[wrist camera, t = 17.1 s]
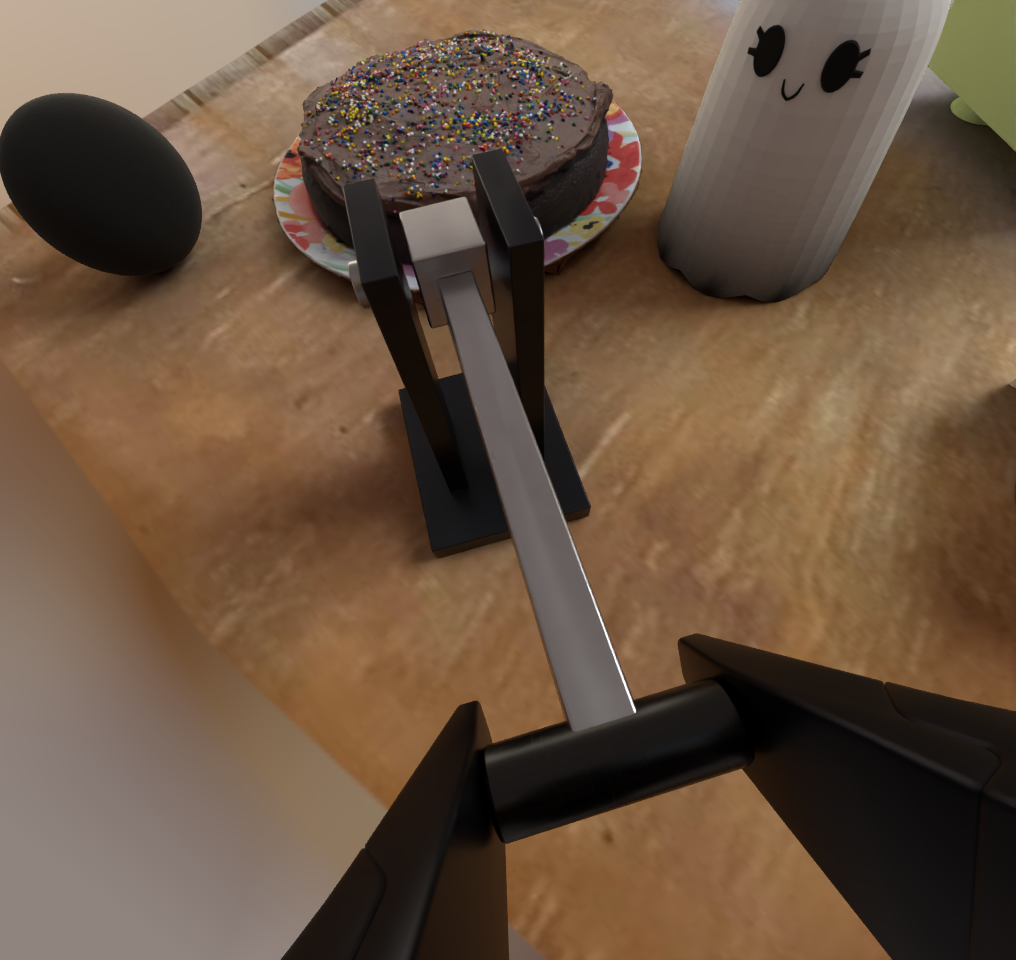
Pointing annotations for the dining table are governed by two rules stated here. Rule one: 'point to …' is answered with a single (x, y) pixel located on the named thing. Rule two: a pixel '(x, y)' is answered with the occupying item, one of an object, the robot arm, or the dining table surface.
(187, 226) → the decorative ball
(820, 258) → the toy
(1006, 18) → the container
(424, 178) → the chocolate cake
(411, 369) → the bracket
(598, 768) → the lever
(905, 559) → the dining table surface
